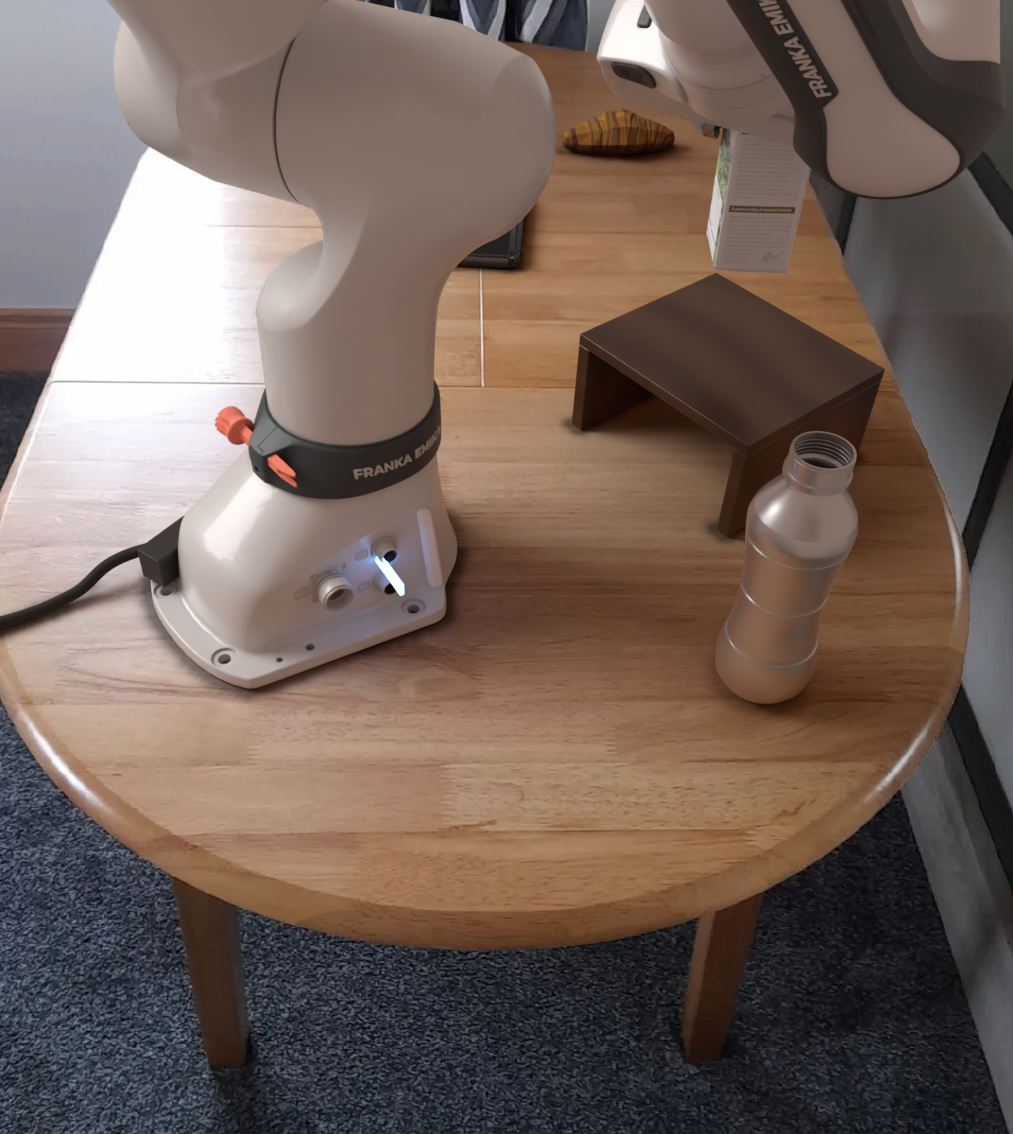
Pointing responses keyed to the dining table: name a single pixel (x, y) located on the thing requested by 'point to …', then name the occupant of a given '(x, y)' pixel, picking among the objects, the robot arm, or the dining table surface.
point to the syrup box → (755, 204)
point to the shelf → (728, 378)
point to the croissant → (618, 134)
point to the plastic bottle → (789, 570)
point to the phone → (498, 251)
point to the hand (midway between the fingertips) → (768, 142)
